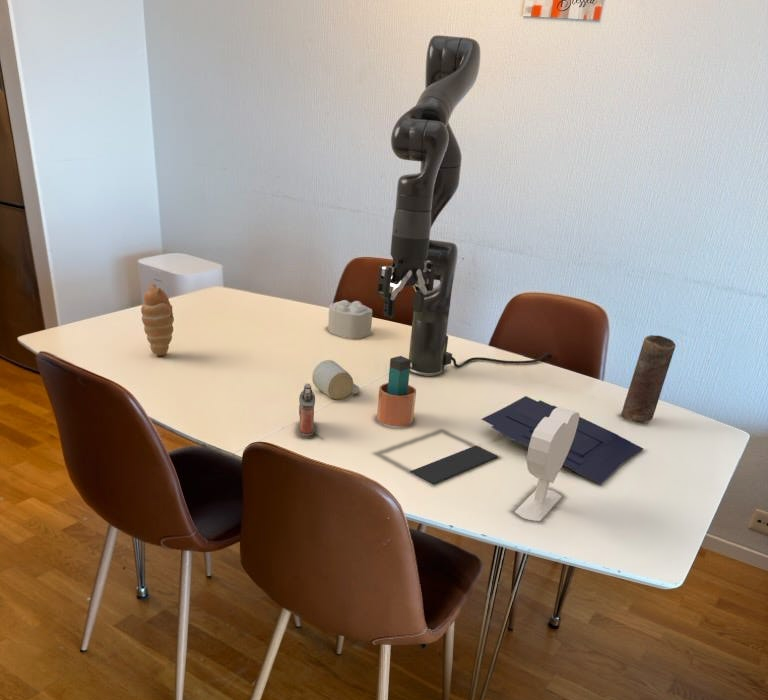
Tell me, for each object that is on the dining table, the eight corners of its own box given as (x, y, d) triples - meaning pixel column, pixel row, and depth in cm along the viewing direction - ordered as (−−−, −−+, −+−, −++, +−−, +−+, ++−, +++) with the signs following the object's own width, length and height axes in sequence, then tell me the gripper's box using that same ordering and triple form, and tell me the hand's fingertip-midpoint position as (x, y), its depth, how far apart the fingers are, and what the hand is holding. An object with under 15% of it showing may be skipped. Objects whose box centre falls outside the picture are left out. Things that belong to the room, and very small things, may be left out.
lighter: (298, 422, 157) (299, 379, 152) (314, 422, 158) (315, 379, 152) (298, 438, 150) (299, 393, 145) (314, 438, 151) (315, 394, 146)
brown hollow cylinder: (652, 417, 177) (676, 338, 166) (652, 428, 171) (676, 346, 160) (621, 410, 179) (642, 332, 168) (619, 421, 173) (642, 340, 162)
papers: (526, 404, 174) (530, 390, 172) (639, 458, 161) (645, 444, 159) (473, 432, 157) (477, 417, 155) (595, 496, 144) (601, 481, 142)
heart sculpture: (541, 484, 141) (560, 399, 132) (565, 492, 139) (586, 407, 130) (510, 516, 130) (528, 425, 120) (535, 525, 128) (556, 434, 118)
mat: (441, 430, 160) (442, 429, 159) (497, 457, 150) (498, 455, 150) (377, 453, 147) (377, 451, 147) (433, 484, 138) (433, 482, 137)
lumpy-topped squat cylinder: (354, 340, 209) (356, 311, 205) (320, 330, 215) (321, 301, 210) (374, 333, 217) (377, 304, 212) (340, 323, 222) (342, 295, 218)
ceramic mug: (328, 403, 167) (330, 372, 163) (310, 391, 173) (312, 361, 169) (365, 397, 173) (368, 367, 169) (347, 385, 178) (349, 356, 174)
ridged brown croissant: (181, 359, 185) (176, 288, 175) (151, 362, 181) (144, 290, 171) (169, 348, 191) (164, 279, 181) (139, 351, 187) (133, 281, 177)
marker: (395, 414, 164) (400, 355, 157) (404, 419, 162) (411, 359, 155) (385, 417, 162) (390, 358, 155) (394, 422, 160) (400, 362, 153)
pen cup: (394, 410, 167) (397, 380, 163) (420, 422, 162) (423, 391, 159) (369, 418, 162) (371, 387, 158) (394, 430, 157) (397, 399, 153)
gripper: (398, 239, 135) (391, 324, 143) (448, 234, 144) (439, 314, 152) (371, 231, 139) (366, 314, 148) (422, 227, 148) (414, 305, 157)
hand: (403, 314), depth 150 cm, fingers open, 8 cm apart
